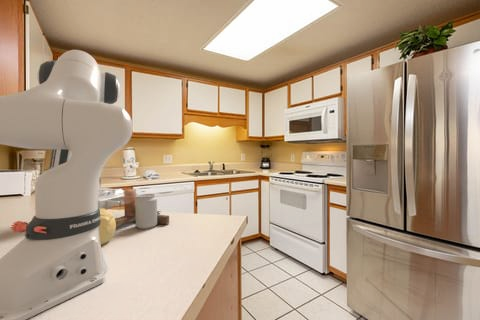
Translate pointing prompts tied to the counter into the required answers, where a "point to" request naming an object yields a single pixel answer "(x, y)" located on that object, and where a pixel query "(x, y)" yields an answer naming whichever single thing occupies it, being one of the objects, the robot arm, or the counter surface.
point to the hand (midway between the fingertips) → (130, 201)
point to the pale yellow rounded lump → (106, 226)
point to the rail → (129, 223)
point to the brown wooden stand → (134, 210)
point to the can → (146, 211)
